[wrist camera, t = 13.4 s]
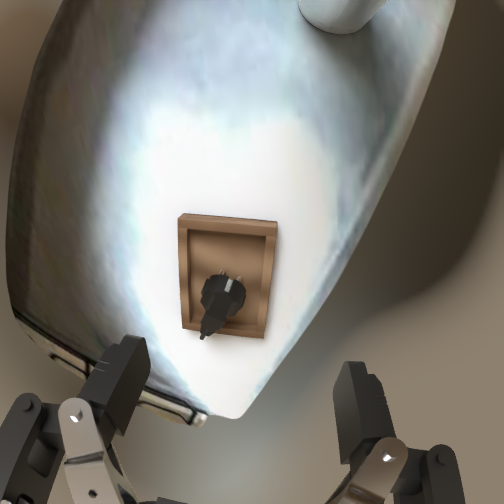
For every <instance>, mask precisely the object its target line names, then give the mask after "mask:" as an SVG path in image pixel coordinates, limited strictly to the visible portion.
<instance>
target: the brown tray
mask: <svg viewBox="0 0 504 504" xmlns="http://www.w3.org/2000/svg"><path fill="white" fill-rule="evenodd" d="M276 233H277V222H276V221H266V220H256V219H245V218H234V217H223V216H211V215H199V214H186V213H183V214H182V215H181V216H180V217H179V218H178V258H179V282H180V300H181V315H182V328H183V329H189V330H196V331H200V328H201V323H200V322H201V320H202V318H203V316H204V314H205V312H206V310H205V308H204V307H203V305H202V304H201V302H200V300H201V297H202V294H201V290H202V288H203V286H204V283H205V281H206V279H207V278H208V279H210V276H211V275H216V274H218V273H219V270H220V269H221V268H223V269H225V273H224V275H226V276H229V279H230V280H234V279H236V278H237V276H241V277H242V281H241V284H242V285H243V286H244V287H245V289H246V293H245V295H246V298H245V301H244V305H243V307H242V309H241V310H239V311H238V312H237V313H236V315H235V316H230V317H226V318H227V320H226V322H225V323H224V325H223V326H222V327H221V329H220V330H219V331H218V330H217V331H216V332H215V333H218V334H226V335H234V336H243V337H252V338H264V330H265V323H266V315H267V307H268V300H269V292H270V284H271V276H272V267H273V259H274V251H275V242H276Z"/></svg>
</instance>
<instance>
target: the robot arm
mask: <svg viewBox="0 0 504 504" xmlns="http://www.w3.org/2000/svg"><path fill="white" fill-rule="evenodd" d="M387 1H388V0H298V5H299V9H300V11H301V13H302V15H303V16H304V17H305V18H306V20H307V21H309V22H310V23H311V24H312V25H314V26H315V27H317V28H319V29H321V30H323V31H325V32H329V33H333V34H350V33H354V32H356V31H358V30H360V29H361V28H362V27H363V26H364V25H365V24H366V23H367V22H368V21H369V20H370V19H371V18H372V17H373V16H374V15H375V14H376V13H377V12H378V11H379V10H380V9H381V7H382V6H383V5H384V4H385V3H386V2H387ZM150 368H151V363H150V358H149V354H148V349H147V345H146V340H145V338H143V337H139V336H134V335H130V334H126V335H125V336H124V338H123V339H122V341H121V343H120V344H119V345H118V344H113V345H111V346H110V347H109V348H108V349H106V350H105V351H104V353H103V354H102V356H101V358H100V359H99V362H97V364H96V366H95V369H93V371H92V372H91V374H90V376H89V377H88V379H87V381H86V383H85V384H84V386H83V388H82V389H81V391H80V393H79V394H78V396H77V397H76V398H71V399H68V400H66V401H65V402H63V403H62V404H51V403H42V402H41V400H40V399H39V398H38V396H36V395H35V394H33V393H24V394H22V395H20V396H19V397H18V398H17V399H16V400H15V402H14V404H13V405H12V407H11V409H10V410H9V412H8V414H7V416H6V418H5V420H4V421H3V423H2V425H1V427H0V504H47V501H48V498H49V495H50V492H51V489H52V486H53V483H54V480H55V477H56V475H57V472H58V469H59V466H60V464H61V461H62V459H63V456H64V454H65V452H66V456H67V461H66V462H64V470H65V474H66V478H67V481H68V484H69V488H70V491H71V494H72V497H73V500H74V503H75V504H187V503H182V502H177V501H173V500H169V499H165V498H161V497H158V498H157V501H146V502H139V500H138V498H137V495H136V494H135V492H134V490H133V488H132V486H131V485H130V483H129V482H128V480H127V478H126V476H125V473H124V471H123V469H122V466H121V463H120V461H119V458H118V456H117V453H116V450H115V448H114V445H113V442H112V439H113V437H114V434H117V435H120V436H124V434H125V431H126V429H127V426H128V424H129V421H130V419H131V417H132V414H133V412H134V409H135V407H136V405H137V402H138V400H139V397H140V395H141V393H142V390H143V388H144V386H145V383H146V381H147V379H148V376H149V374H150ZM333 401H334V409H335V417H336V424H337V433H338V441H339V450H340V460H341V464H350V471H349V473H348V474H347V475H346V477H345V478H344V479H343V481H342V482H341V484H340V485H339V486H338V487H337V489H336V490H335V491H334V493H333V494H332V495H331V496H330V498H329V499H328V500H327V501H326V503H325V504H384V501H385V499H386V497H387V496H388V494H389V493H393V497H394V504H465V498H464V492H463V487H462V482H461V477H460V473H459V469H458V464H457V460H456V456H455V453H454V451H453V450H452V449H451V448H450V447H449V446H446V445H442V444H440V445H436V446H434V447H432V448H431V449H430V450H429V451H426V450H418V449H412V448H408V447H406V445H405V444H404V443H403V442H402V441H401V440H400V439H398V438H397V437H396V435H395V431H394V427H393V423H392V420H391V416H390V412H389V408H388V405H387V401H386V397H385V396H384V391H383V387H382V384H381V382H380V381H379V380H378V378H377V377H376V376H375V375H374V374H368V373H367V369H366V366H365V363H364V362H356V361H351V362H350V361H346V362H345V363H344V364H343V367H342V369H341V371H340V374H339V376H338V378H337V380H336V382H335V385H334V389H333Z"/></svg>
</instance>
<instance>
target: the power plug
mask: <svg viewBox="0 0 504 504" xmlns="http://www.w3.org/2000/svg"><path fill="white" fill-rule="evenodd" d="M224 273H225V269H223V268H221V269H220V270H219V273H218V274H216V275H211V276H210V279H208V278H207V279H206V281H205V283H204V286H203V288H202V290H201V294H202V297H201V300H200V302H201V304H202V305H203V307H204V308H205V310H206V312H205V314H204V316H203V318H202V320H201V322H200V323H201V328H200V333H201V336H200V339H201V340H203V339H204V338H205V336H210V335H212V334H214V333H215V332H216V331H217V330H218V331H219V330H220V329H221V327H222V326H223V325H224V323H225V322H226V320H227V318H226V317H230V316H235V315H236V313H237V312H238V311H239V310H241V309H242V307H243V305H244V301H245V298H246V295H245V293H246V289H245V287H244V286H243V285H242V284H241V281H242V277H241V276H237V278H236V279H234V280H230V279H229V276H226V275H224Z"/></svg>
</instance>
